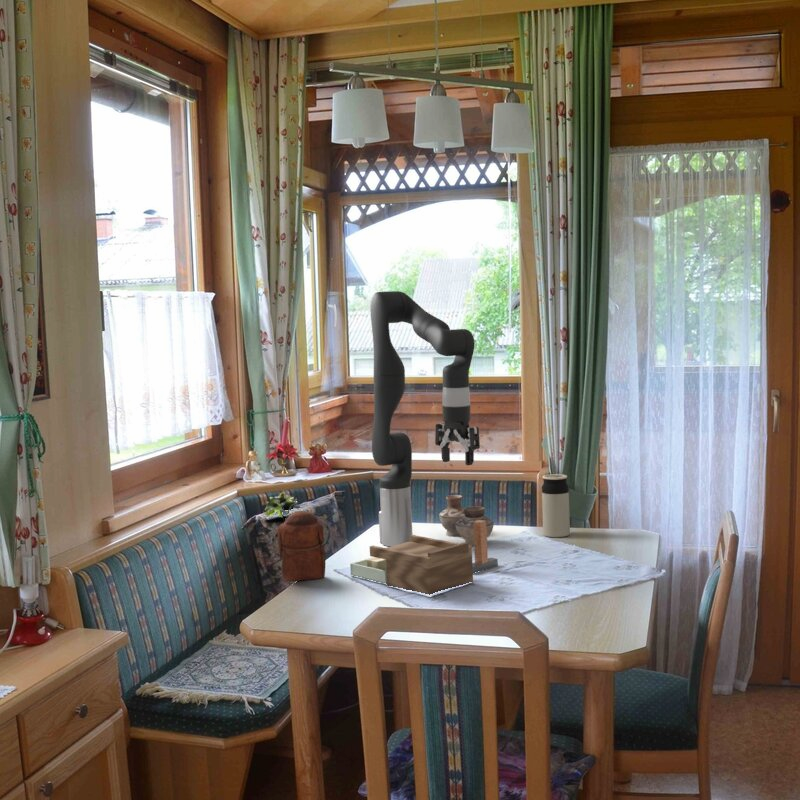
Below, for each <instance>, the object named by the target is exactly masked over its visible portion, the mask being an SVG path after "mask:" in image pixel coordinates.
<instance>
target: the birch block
mask: <svg viewBox="0 0 800 800" xmlns="http://www.w3.org/2000/svg"><path fill="white" fill-rule="evenodd" d="M370 558H371V559H368V558H367V559H368V560H367V567H371V568H376V569H380V570H384V571H387V570H386V559H381V558H377V557H375V558H372V557H370Z"/></svg>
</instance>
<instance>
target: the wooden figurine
mask: <svg viewBox="0 0 800 800" xmlns="http://www.w3.org/2000/svg"><path fill="white" fill-rule="evenodd" d="M318 520H319V519H318V518H317V516H316V515H315V514H313V512H310V511H307V510H298V511H294V512H292V514H291V515H287V517H286V518H285V521H284V522H282V523H281V524H280V525H279V526H278V527H277V546H278V549H277V550H278V555H279V558H280V559H281V566H280V569H281V579H282V581H283V582H301V581H309V580H310V581H311V580H318V579H323V578H325V574H326V552H325V551H326V549H325V546H324V545H323V544H324V542H325V537H324V536H325V535H324V526H323V524H322V523H321V522H319V521H318ZM300 580H301V581H300Z"/></svg>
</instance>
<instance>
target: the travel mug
mask: <svg viewBox="0 0 800 800" xmlns="http://www.w3.org/2000/svg"><path fill="white" fill-rule="evenodd" d="M567 478H568V475H567V474H562V473H552V474H551V473H550V474H544V475H542V479H543V484H542V486H541V499H542V500H541V502H542V503H541V504H542V507H541V508H542V531H543V535H544V536H545V537H548V538H565V537H568V536H570V535H571V523H570V522H571V521H570V494H569V493H570V492H569V491H570V489H569V488H570V487H569V485H568V483H567Z"/></svg>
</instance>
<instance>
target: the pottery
mask: <svg viewBox="0 0 800 800" xmlns="http://www.w3.org/2000/svg"><path fill="white" fill-rule="evenodd" d="M445 499H446V503H447V504H446V505H447V507H446V508H445V509H443V510H441V512H440V513H438V516H439V520H440V521H439V522H440V523H441V525H442V527H443V528H444V529H445V530H446V532H445V534H446V536H448V537H459V536H460V537H461V539H463V540H464V542H466V543H468V545H469V546H472V547H474V526H473V521H477V520H483V521H486V528H487V538H488V537H490V535H491V534H492V532H493V529H494V524H495V523H494V521H493V520H492V519H491V518H490V517H487V516H486V515H485V510H486V508H485V507H483V506H466V507H462V500H463V496H462V495H460V494H450V495H446V496H445Z"/></svg>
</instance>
